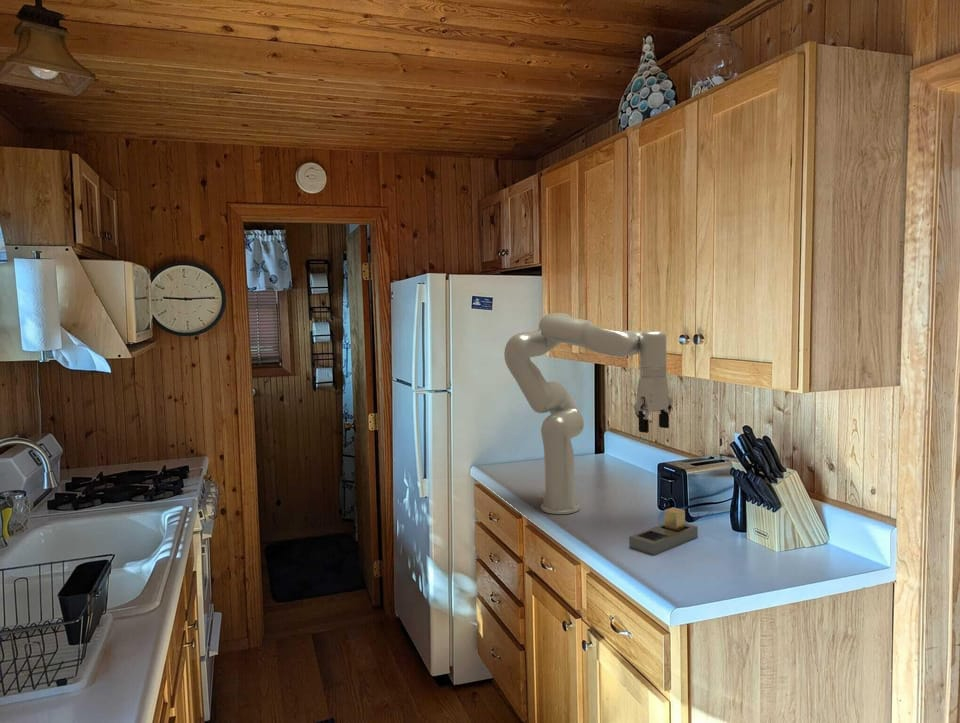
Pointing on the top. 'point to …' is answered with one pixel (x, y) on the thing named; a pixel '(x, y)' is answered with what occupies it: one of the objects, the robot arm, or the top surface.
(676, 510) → the yellow rectangular block
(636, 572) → the top surface
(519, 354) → the robot arm
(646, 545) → the grey slotted block
